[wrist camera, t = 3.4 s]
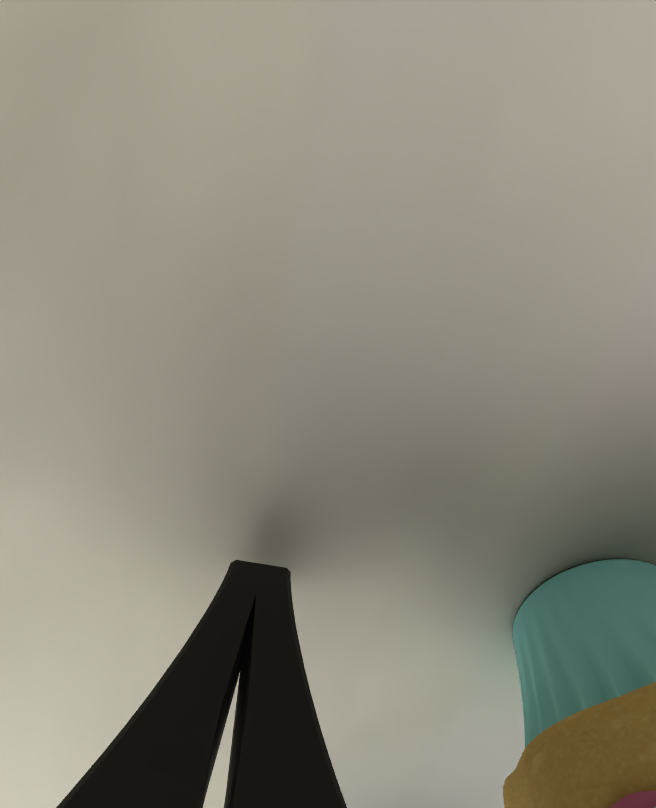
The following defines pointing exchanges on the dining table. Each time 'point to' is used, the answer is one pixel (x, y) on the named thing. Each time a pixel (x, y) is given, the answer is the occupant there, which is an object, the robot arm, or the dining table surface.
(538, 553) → the dining table surface
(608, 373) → the dining table surface
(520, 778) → the cupcake
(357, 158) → the dining table surface
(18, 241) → the dining table surface
